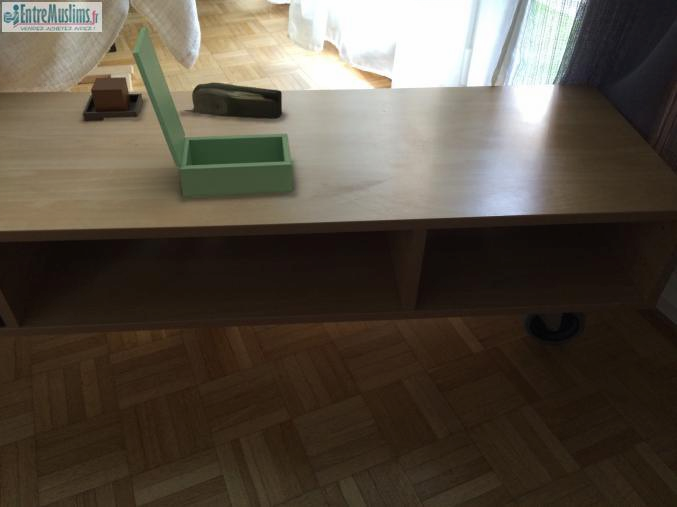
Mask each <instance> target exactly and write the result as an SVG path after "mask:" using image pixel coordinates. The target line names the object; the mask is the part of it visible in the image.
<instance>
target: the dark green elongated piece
mask: <svg viewBox="0 0 677 507" xmlns="http://www.w3.org/2000/svg"><path fill="white" fill-rule="evenodd" d="M191 94H192V95H191V100H192V105H193V108H192V109H185V110H184V113H194V114H205V115H214V116H219V117H220V116H221V117H232V118H233V117H235V118H243V119H244V118H246V119H247V118H248V119H266V120H275V119H279V118H281V116H282V115H283V99H282V98H283V96H282V95H283V93H282V91H281V90H278V89H272V88H271V89H270V88H263V87H256V86H245V85H235V84H230V83H224V82H213V81H212V82H207V83H199V84H197V85H196V86H195V87H194V89H193V91H192V93H191Z"/></svg>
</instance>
